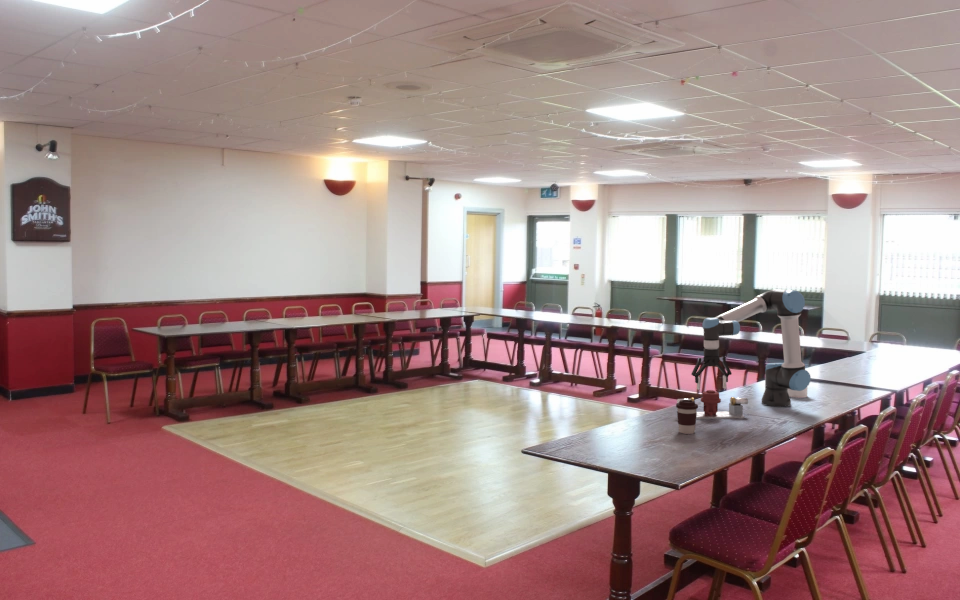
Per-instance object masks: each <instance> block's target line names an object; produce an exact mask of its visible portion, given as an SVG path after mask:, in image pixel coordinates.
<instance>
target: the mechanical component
mask: <svg viewBox="0 0 960 600" xmlns="http://www.w3.org/2000/svg"><path fill="white" fill-rule="evenodd" d="M700 402H701V403H703V411H702V412H704V413H705V414H708V415H710V416H712V415H714V414H716V412H719V410H718V407H719V406H718V405H719V404H720V403H721V402H722V399H721V398H720V392H718V391H715V390H712V389H708V390H706V391H702V397H700Z"/></svg>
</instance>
